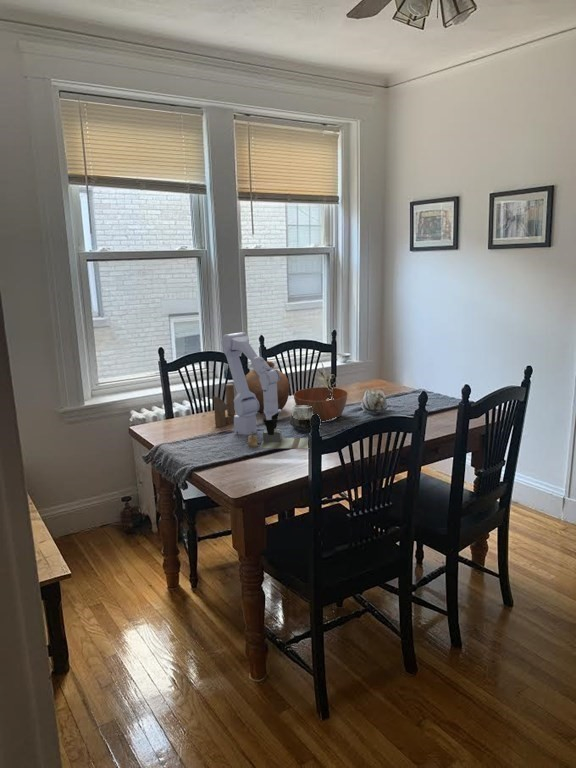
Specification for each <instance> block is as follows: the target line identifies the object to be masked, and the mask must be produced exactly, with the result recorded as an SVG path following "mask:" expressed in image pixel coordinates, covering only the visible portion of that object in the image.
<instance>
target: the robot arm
mask: <svg viewBox="0 0 576 768" xmlns="http://www.w3.org/2000/svg"><path fill="white" fill-rule="evenodd" d="M221 338H222V339H221V342H220V343H221V345H222V346H221V347H222V350H223V353H224V355H225V357H226V360H227V364H228V367H229V371H230V374H231V377H232V381H233V386H234V389H235V391H236V395H235V396H234V400H233V401H234V410H235V414H237V415H235V416H234V423H233V433H234V435H244V436H247V435H248V436H251V435H252V434H251V432H253V434H254V435H255V434H257V432H258V431H257V430H258V428H257V414H258V413H257V411H258V410H259V407H260V405H259V401H258V400H257V398H256V396H255V394H254V393H252V392H250V391H249V388H248V385H247V381H246V378H245V377H246V375H245V371H244V368H243V364H242V361H241V359H240V355H241V353H242V354H243V355H244V356H245V357H246V358H247V359H248V360H249V361H250V362H251V363H250V367H251V368H252V370H253V369H254V370H255V372H256V373H257V374H258V375H259V377H260V378H259V381H260V383H261V387H262V389H263V400H264V413H265V414H264V415H265V417H262V422H263V424H264V426H265V429H267V432H268V435H274V429H277V426H278V425H277V424H278V418H279V415H280V413H281V412H282V410H281V409H278V396H277V383H278V382H279V380H280V376H279V373H278V371H277V370H278V369H277V368H275V369H273V368H270V366H269V365H268V364H267V363H266V361H267V360H265V358H264V357H262V356H258V354H257V353H256V351H255V349H254V348H253V347H252V345H251V343H250V339H249V336H248V335H247V333H246V332H244V331H240V332H235V333H228V334H227V333H226V334H223V336H222V337H221ZM276 369H277V370H276ZM245 399H247V400H245Z"/></svg>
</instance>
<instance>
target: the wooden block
mask: <svg viewBox="0 0 576 768" xmlns="http://www.w3.org/2000/svg"><path fill="white" fill-rule="evenodd" d="M234 389H235V386H234V383H226V384H225V395H226V397H225V398H226V402H224V401H223V399H221V398H220V397H219V396H215V395H214V396H213V397H212V398H213V411H214V423H215V427H218V428H223V427H225V426H227V425H231V424H234V416H235V415H237V414H236V412H235V410H234V401H233V400H234V398H235V391H234ZM226 411H227V412H226ZM226 413H227V414H226Z"/></svg>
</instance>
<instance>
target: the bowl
mask: <svg viewBox="0 0 576 768" xmlns="http://www.w3.org/2000/svg"><path fill="white" fill-rule="evenodd" d="M332 388H333V398H334V400H329V401H326V399H327V398H329V399H331V395H330V391H329V390H328V388H327V386H321V387H320V386H319V387H308V388H303V389H300V390H298V391H295V392H294V393H293V398H294V399H293V400H294V403H295V406H296V405H309V406H312V408H313V414H318V415H319V417H320V419H321V422H320V423H323V422H322V421H326V420H329V419H332V418H335V417H339V416H340V417H341V416H342V415H343V412H344V411H345V407H346V404H347V401H348V394H349V393H348V391H346V390H345V389H341V388H339V387H337V388H336V387H332ZM340 417H339V418H340Z"/></svg>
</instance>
